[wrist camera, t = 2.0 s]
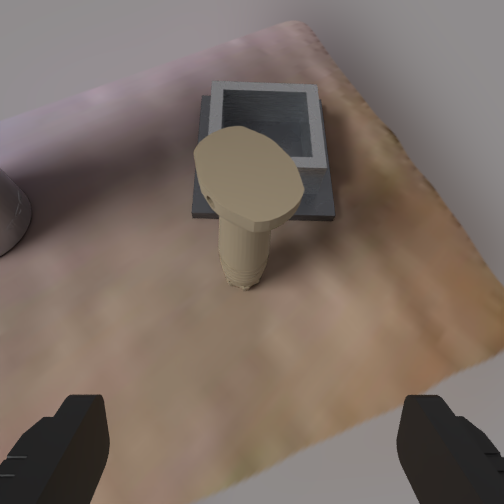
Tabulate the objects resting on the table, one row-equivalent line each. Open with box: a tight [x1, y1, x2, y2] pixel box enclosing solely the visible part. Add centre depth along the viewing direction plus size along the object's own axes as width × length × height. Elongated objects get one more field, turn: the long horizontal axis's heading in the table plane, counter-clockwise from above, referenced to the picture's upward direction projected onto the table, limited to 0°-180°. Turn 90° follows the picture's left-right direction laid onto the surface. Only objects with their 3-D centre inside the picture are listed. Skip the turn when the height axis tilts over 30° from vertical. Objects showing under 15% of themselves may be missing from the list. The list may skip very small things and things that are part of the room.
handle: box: [193, 126, 305, 291], centre depth 25 cm, size 5×6×15 cm
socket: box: [192, 81, 335, 221], centre depth 35 cm, size 14×16×5 cm
